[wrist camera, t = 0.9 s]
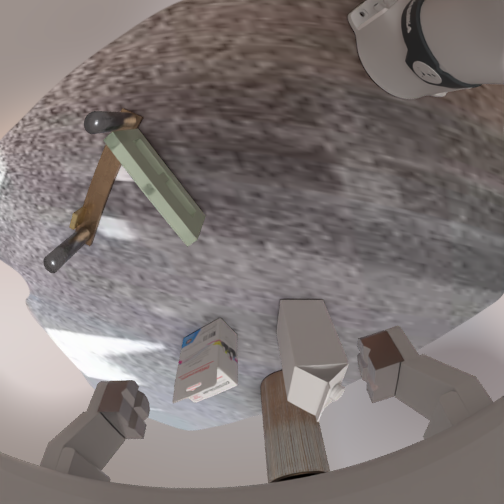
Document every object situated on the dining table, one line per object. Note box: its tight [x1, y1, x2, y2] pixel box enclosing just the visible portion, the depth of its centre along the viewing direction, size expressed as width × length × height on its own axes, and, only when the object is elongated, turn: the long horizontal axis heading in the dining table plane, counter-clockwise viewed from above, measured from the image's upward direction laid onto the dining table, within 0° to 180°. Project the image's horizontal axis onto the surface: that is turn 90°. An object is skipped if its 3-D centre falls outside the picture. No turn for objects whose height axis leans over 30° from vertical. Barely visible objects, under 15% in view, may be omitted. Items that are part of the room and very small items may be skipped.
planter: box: [261, 371, 330, 483], centre depth 46 cm, size 10×10×23 cm
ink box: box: [173, 318, 238, 403], centre depth 43 cm, size 8×5×15 cm, turn 125°
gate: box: [104, 129, 205, 247], centre depth 33 cm, size 15×1×8 cm, turn 35°
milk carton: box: [276, 300, 349, 422], centre depth 40 cm, size 7×7×19 cm
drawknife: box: [44, 108, 143, 273], centre depth 33 cm, size 21×3×11 cm, turn 150°
